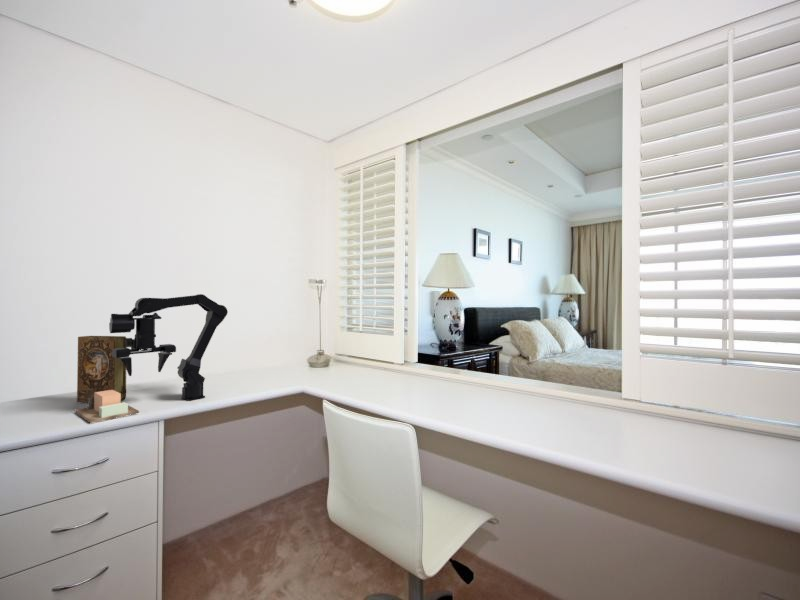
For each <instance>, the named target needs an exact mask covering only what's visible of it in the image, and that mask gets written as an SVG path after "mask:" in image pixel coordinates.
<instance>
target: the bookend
mask: <svg viewBox="0 0 800 600" xmlns="http://www.w3.org/2000/svg"><path fill="white" fill-rule="evenodd" d="M86 408H88V409H94V397H89V403H88V406H87V407H86Z"/></svg>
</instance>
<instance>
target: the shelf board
mask: <svg viewBox="0 0 800 600" xmlns="http://www.w3.org/2000/svg"><path fill="white" fill-rule="evenodd" d="M123 402H124V401H121V403H123ZM76 413H77V416H79V417H80V416H81V417H80V418H82V419H83V418H84V419H85V420H84V421H86V420H87V421H88V422H90V423H91V424H93V423H92V422H96V421H101V422H103V421H102V420H106V421H108V420H107V419H111V420H113V419H112V418H115V419H117V418H116V417H120V418H122V417H121V416H125V417H127V416H126V415H130V414H135V413H140V410H138V409H136V408H135V407H133V406H130V405H129V404H128V413H123V414H118V415H113V416H108V417H103V418H101V417H100V416H99V412H97V411H95V410H94V409H88V408H87V407H86V408H84V407H83V408H80V409H75V414H76ZM135 415H136V414H135ZM130 416H131V415H130ZM87 421H86V422H87ZM88 422H87V423H88ZM90 423H89V424H90ZM96 423H97V422H96Z"/></svg>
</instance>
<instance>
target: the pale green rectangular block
mask: <svg viewBox="0 0 800 600" xmlns="http://www.w3.org/2000/svg"><path fill="white" fill-rule="evenodd" d="M122 402H123V403H118V404H112V405H107V406H101V407H99V416H100V417H101V418H103V417H108V416H113V415H118V414H123V413H128V405H129V403H128V402H125V401H122Z"/></svg>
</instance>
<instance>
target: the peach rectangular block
mask: <svg viewBox="0 0 800 600" xmlns="http://www.w3.org/2000/svg"><path fill="white" fill-rule="evenodd" d="M121 402H122V400H121V393H118V392H116V391H114V390H107V391H100V392H94V410H95V411H97V412H99V407H101V406H107V405H112V404H118V403H121Z"/></svg>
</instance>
